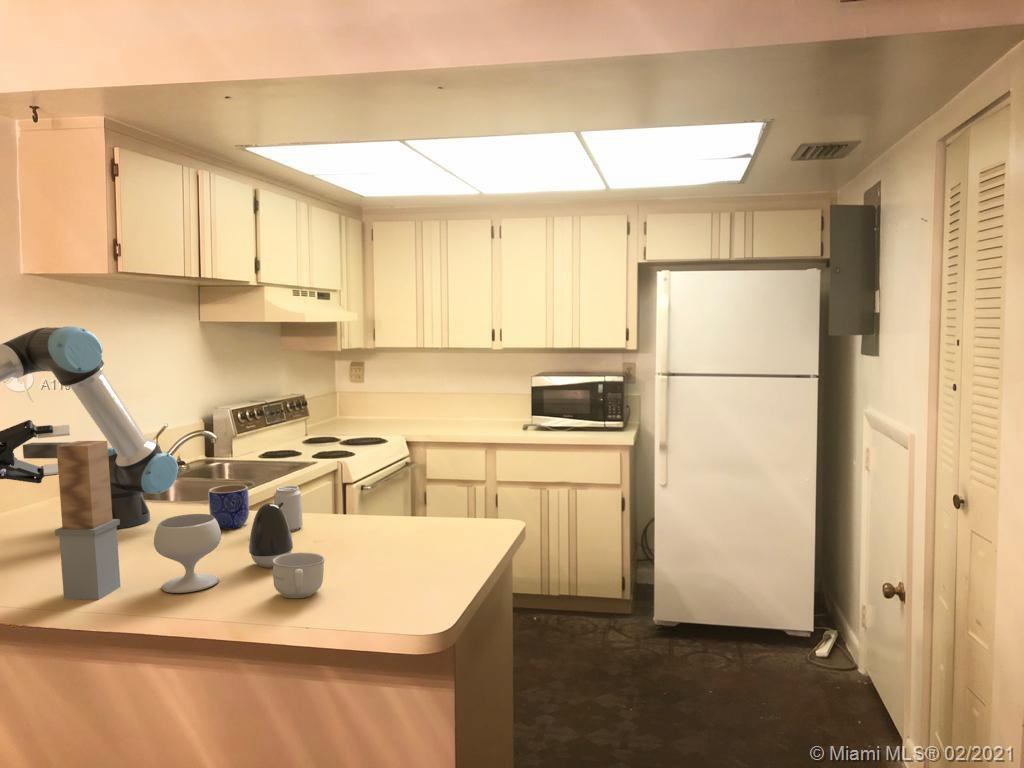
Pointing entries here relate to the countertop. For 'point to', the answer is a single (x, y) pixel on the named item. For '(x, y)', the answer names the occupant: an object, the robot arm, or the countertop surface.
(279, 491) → the can
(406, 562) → the countertop surface
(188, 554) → the chalice
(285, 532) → the pump dispenser
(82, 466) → the walnut handle block
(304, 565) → the teacup
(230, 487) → the planter
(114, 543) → the stand
